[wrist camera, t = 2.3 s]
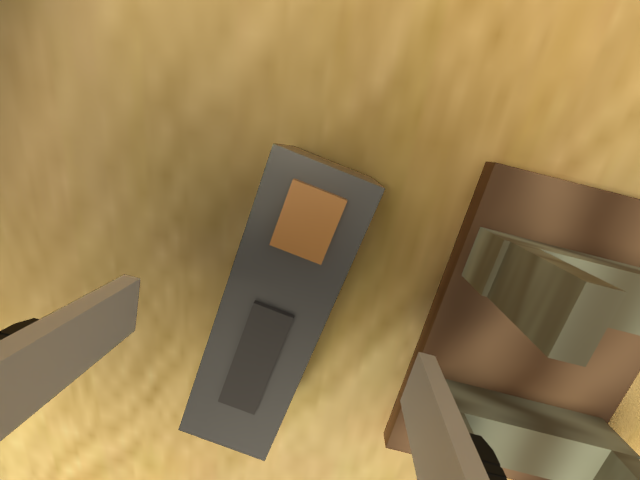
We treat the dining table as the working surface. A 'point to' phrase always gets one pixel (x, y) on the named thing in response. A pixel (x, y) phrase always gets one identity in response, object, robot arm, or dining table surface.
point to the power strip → (278, 297)
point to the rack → (539, 326)
